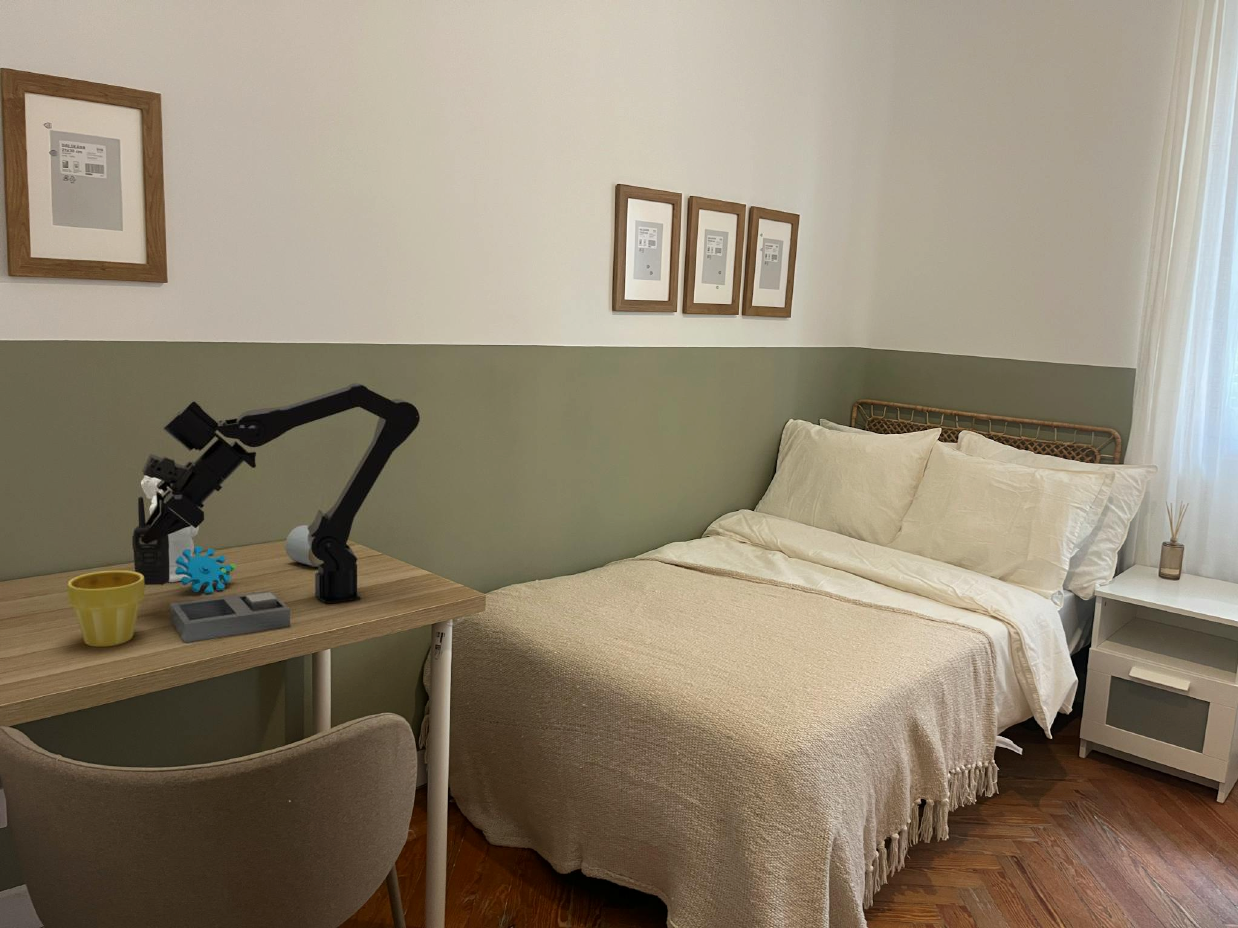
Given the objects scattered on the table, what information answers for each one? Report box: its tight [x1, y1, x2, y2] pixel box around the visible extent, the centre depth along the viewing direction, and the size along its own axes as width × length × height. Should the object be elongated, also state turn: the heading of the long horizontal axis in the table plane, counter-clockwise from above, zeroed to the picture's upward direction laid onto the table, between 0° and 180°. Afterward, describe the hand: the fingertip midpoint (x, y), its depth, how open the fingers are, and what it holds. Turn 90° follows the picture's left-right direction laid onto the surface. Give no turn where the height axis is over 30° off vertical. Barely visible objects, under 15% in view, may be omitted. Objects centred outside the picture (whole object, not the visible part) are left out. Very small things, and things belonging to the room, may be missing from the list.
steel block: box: [246, 592, 278, 611], centre depth 157 cm, size 4×4×4 cm
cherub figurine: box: [140, 475, 200, 583], centre depth 179 cm, size 12×12×22 cm
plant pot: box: [66, 570, 146, 648], centre depth 144 cm, size 10×10×10 cm
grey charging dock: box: [169, 590, 291, 643], centre depth 154 cm, size 16×12×3 cm
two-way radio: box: [131, 496, 170, 586], centre depth 155 cm, size 6×4×15 cm
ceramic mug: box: [285, 524, 324, 568], centre depth 193 cm, size 11×8×8 cm
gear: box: [175, 545, 237, 595], centre depth 173 cm, size 11×6×10 cm
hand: (142, 538), depth 155 cm, fingers closed on two-way radio, 4 cm apart
